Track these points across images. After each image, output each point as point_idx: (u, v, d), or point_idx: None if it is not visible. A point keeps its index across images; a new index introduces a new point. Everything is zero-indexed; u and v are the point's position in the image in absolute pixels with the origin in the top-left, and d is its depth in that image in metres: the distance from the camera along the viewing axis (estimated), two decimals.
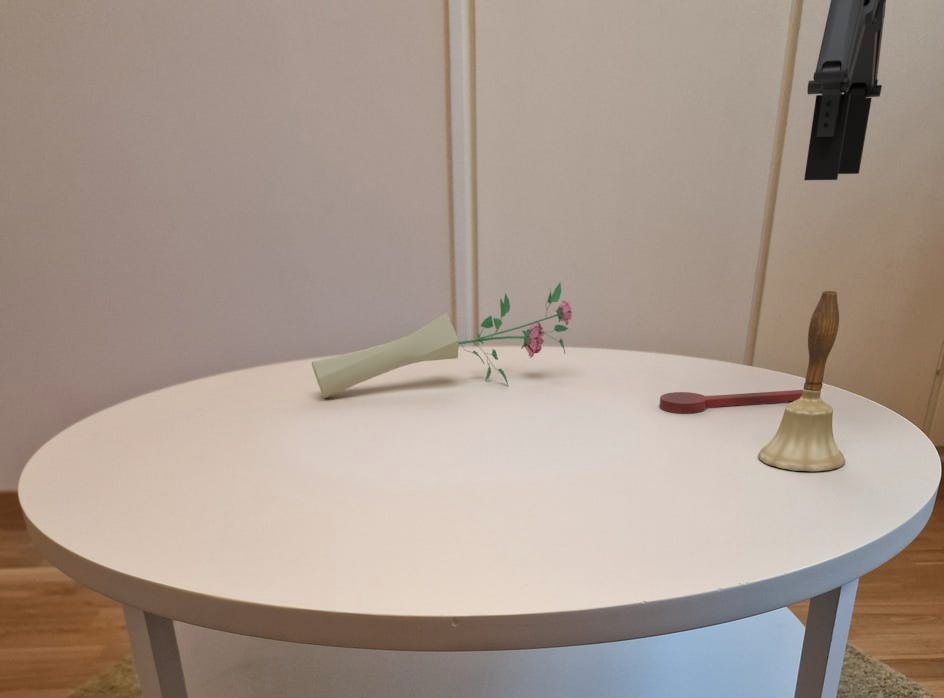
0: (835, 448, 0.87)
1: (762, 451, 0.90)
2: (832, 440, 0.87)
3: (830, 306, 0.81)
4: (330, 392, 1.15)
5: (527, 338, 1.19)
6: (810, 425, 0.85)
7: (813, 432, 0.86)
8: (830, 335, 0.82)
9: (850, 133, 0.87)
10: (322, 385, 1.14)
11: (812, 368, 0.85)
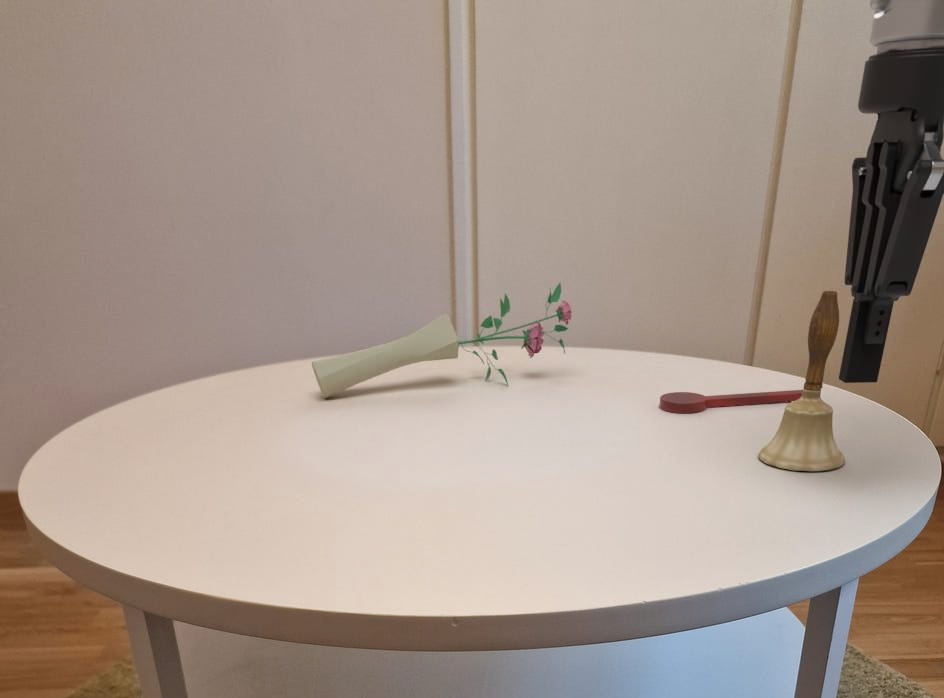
0: (835, 448, 0.87)
1: (762, 451, 0.90)
2: (832, 440, 0.87)
3: (830, 306, 0.81)
4: (330, 392, 1.15)
5: (527, 338, 1.19)
6: (810, 425, 0.85)
7: (813, 432, 0.86)
8: (830, 335, 0.82)
9: None
10: (322, 385, 1.14)
11: (812, 368, 0.85)
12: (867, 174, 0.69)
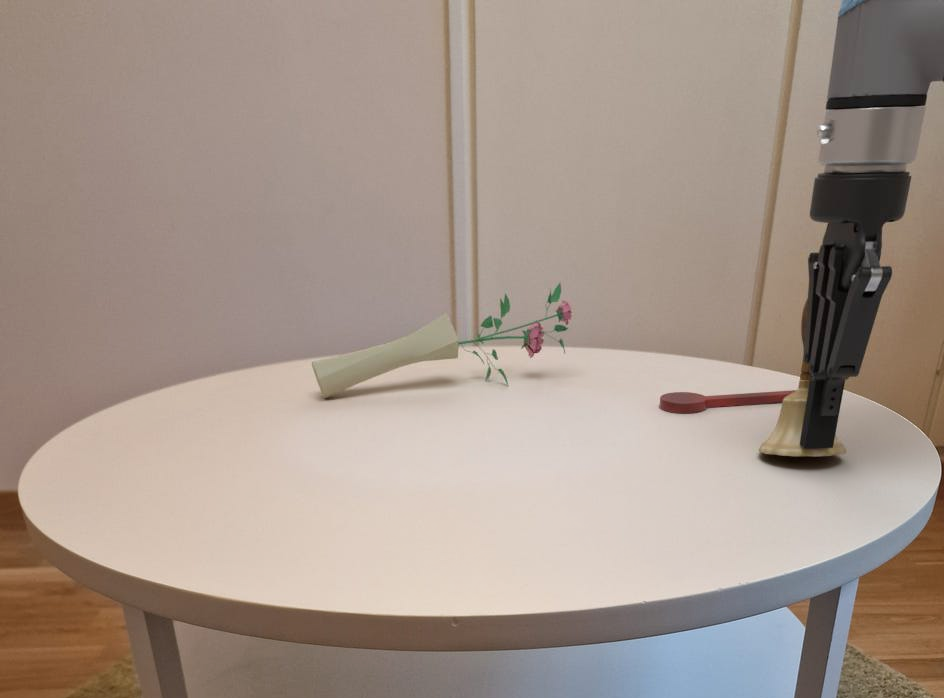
0: (835, 437, 0.87)
1: (762, 445, 0.89)
2: None
3: None
4: (330, 392, 1.15)
5: (527, 338, 1.19)
6: None
7: None
8: None
9: None
10: (322, 385, 1.14)
11: None
12: (819, 270, 0.79)
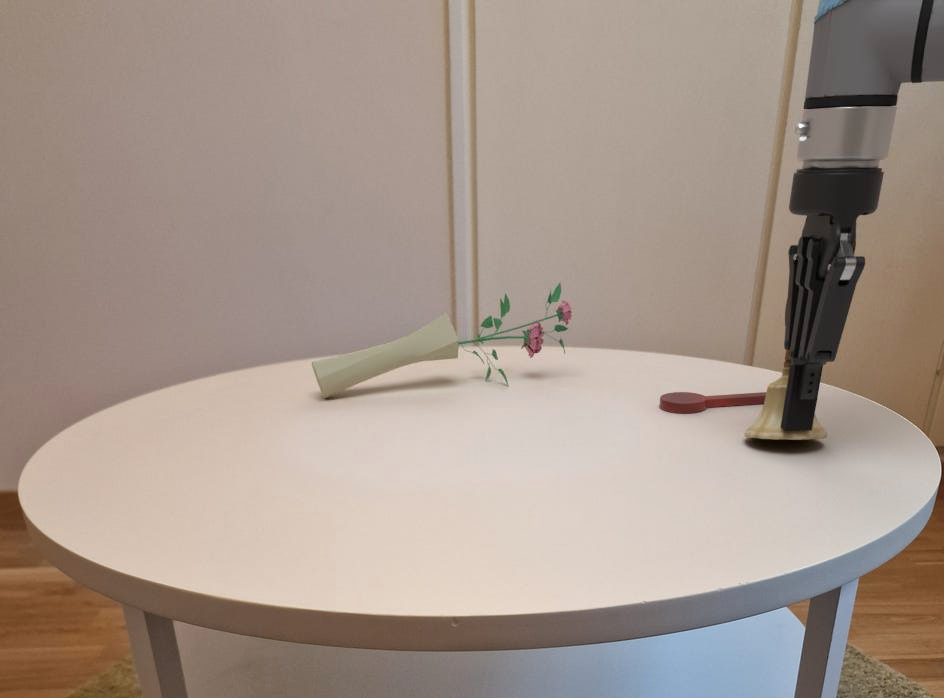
0: (816, 422, 0.91)
1: None
2: None
3: None
4: (330, 392, 1.15)
5: (527, 338, 1.19)
6: None
7: None
8: None
9: None
10: (322, 385, 1.14)
11: None
12: (798, 261, 0.84)
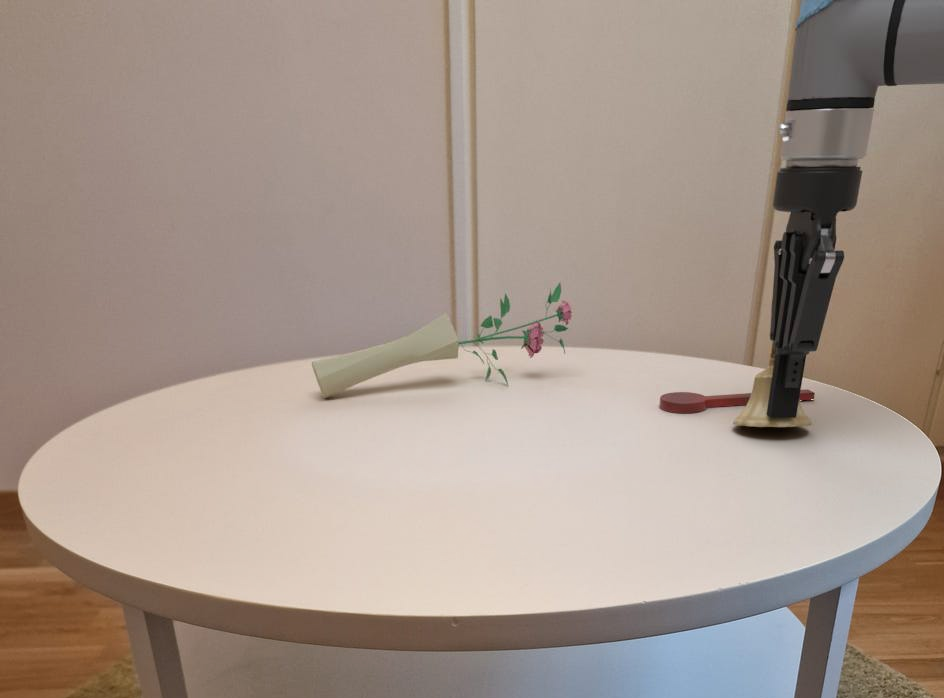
0: (801, 411, 0.95)
1: None
2: (798, 403, 0.95)
3: None
4: (330, 392, 1.15)
5: (527, 338, 1.19)
6: None
7: None
8: None
9: None
10: (322, 385, 1.14)
11: None
12: (783, 256, 0.88)
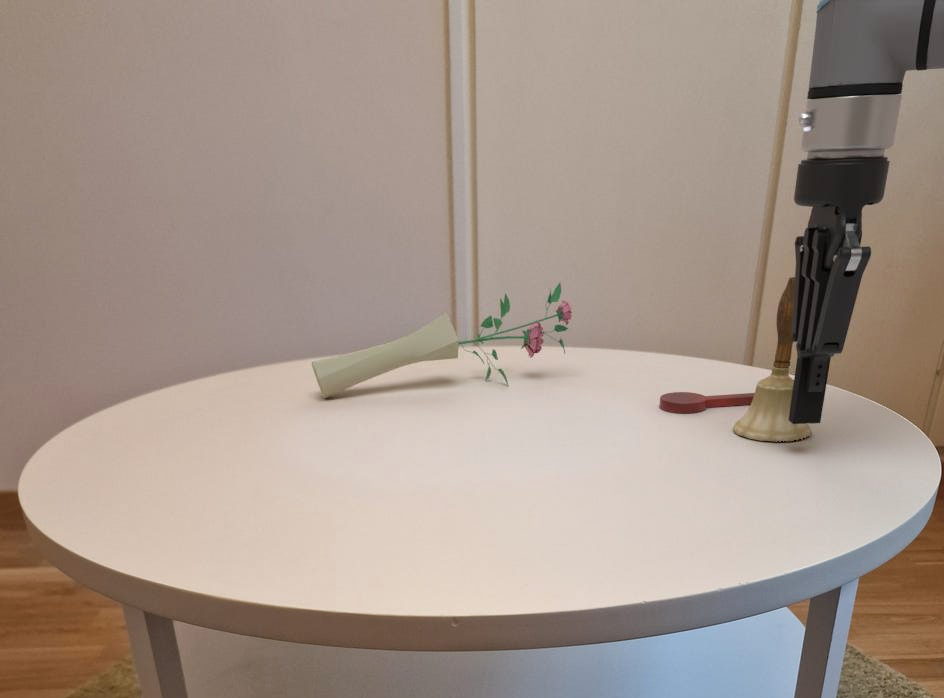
0: None
1: (736, 423, 0.98)
2: None
3: None
4: (330, 392, 1.15)
5: (527, 338, 1.19)
6: (777, 399, 0.94)
7: (779, 406, 0.94)
8: None
9: None
10: (322, 385, 1.14)
11: (780, 347, 0.93)
12: (805, 252, 0.83)
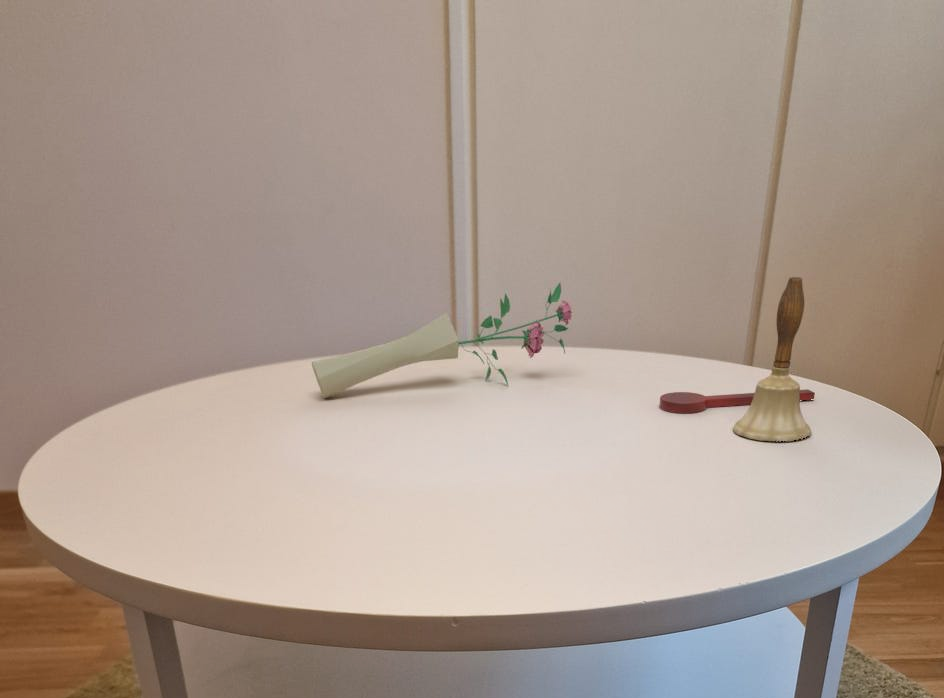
0: (801, 421, 0.95)
1: (736, 423, 0.98)
2: (798, 414, 0.95)
3: (795, 291, 0.90)
4: (330, 392, 1.15)
5: (527, 338, 1.19)
6: (777, 399, 0.94)
7: (779, 406, 0.94)
8: (795, 317, 0.91)
9: None
10: (322, 385, 1.14)
11: (780, 347, 0.93)
12: None
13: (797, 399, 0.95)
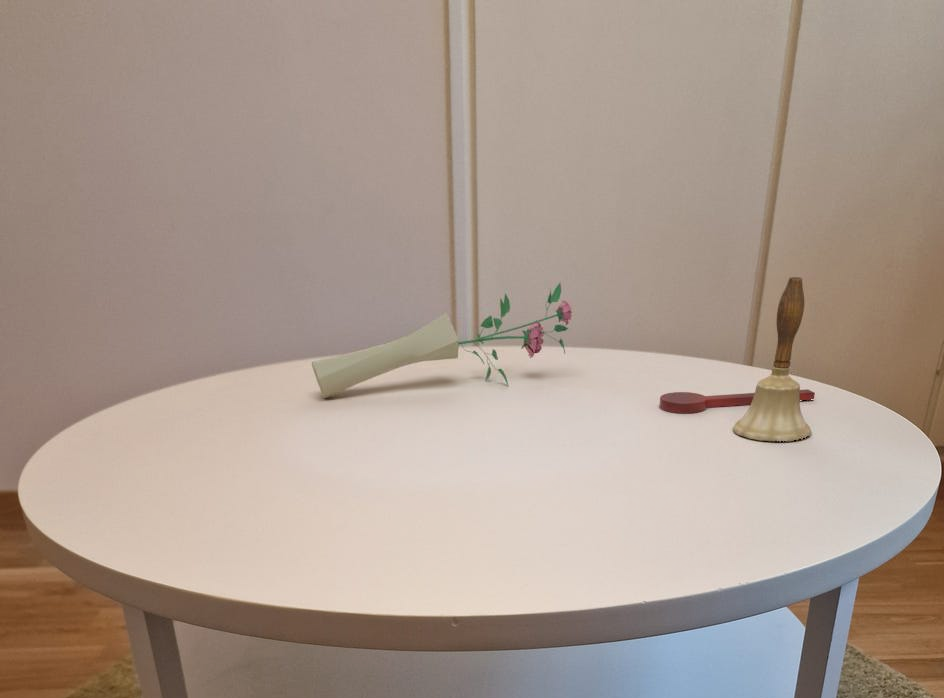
0: (801, 421, 0.95)
1: (736, 423, 0.98)
2: (798, 414, 0.95)
3: (795, 291, 0.90)
4: (330, 392, 1.15)
5: (527, 338, 1.19)
6: (777, 399, 0.94)
7: (779, 406, 0.94)
8: (795, 317, 0.91)
9: None
10: (322, 385, 1.14)
11: (780, 347, 0.93)
12: None
13: (797, 399, 0.95)
